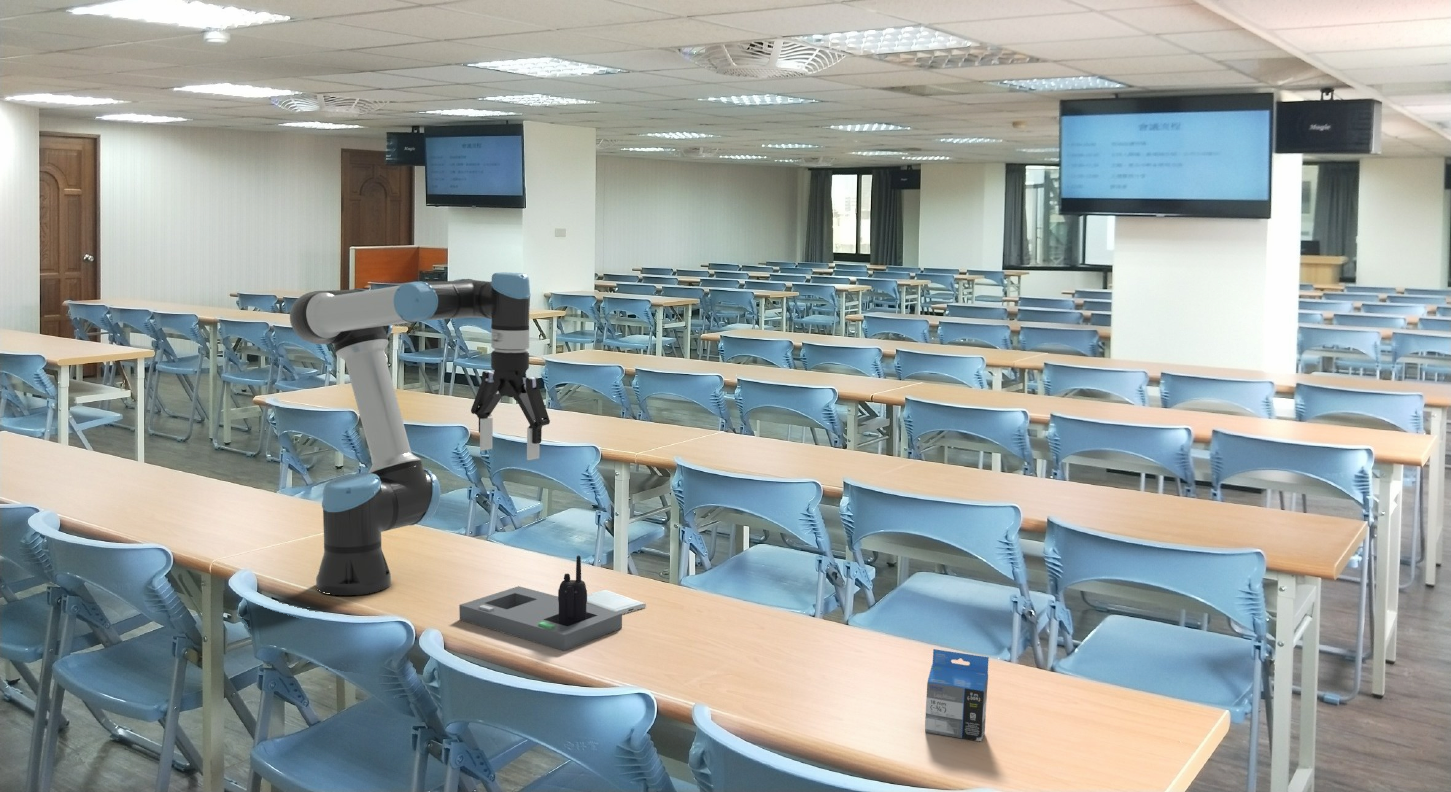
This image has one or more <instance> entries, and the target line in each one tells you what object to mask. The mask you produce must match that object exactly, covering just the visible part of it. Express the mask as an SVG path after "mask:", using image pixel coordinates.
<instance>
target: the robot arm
mask: <svg viewBox="0 0 1451 792" xmlns="http://www.w3.org/2000/svg"><path fill="white" fill-rule="evenodd" d="M491 275H492V276H491V281H489V280H488V281H485V280H476V279H472V278H459V279H454V280H447V281H446V280H443V281H421V280H419V281H410V282H405V283H402V284H400V285H395V286H390V287H389V286H388V287H383V288H377V289H364V288H363V289H362V288H353V289H338V290H337V289H336V290H333V289H332V290H313V291H310V292H307V293H305V294H302V295H301V296H299V297H298V298H297V299H296V300H295V301H294V303H293V304H292V306H291V309H290V312H289V320H290V325H291V328H292V329H293V330H292V331H294V333H295V335H297V336H298V337H299V338H300V339H302V340H303V341H305V342H307V343H310V344H314V345H330V344H331V345H333V349H334V352H335V355H336V356H337V357H339V358H340V359H342V360H343V361H344V362H345V366H346V369H347V373H348V376H349V380H350V383H351V387H352V391H353V395H354V398H355V403H356V406H357V410H358V414H359V417H360V421H361V424H362V430H363V432H364V436H365V440H366V443H367V447H368V451H369V454H370V459H371V462H372V465H371V467H370V469H369V471H367V472H357V473H355V474H354V473H353V474H352V473H350V474H343V475H340V476H338V477H335V478H333V479H330V480H329V481H328V482H327V483H326V484H325V486H324V487H323V491H322V501H321V507H322V512H323V513H322V514H323V515H322V516H323V517H322V518H323V520H322V521H323V522H322V523H323V548H324V549H323V550H324V551H323V556H322V559H321V561H320V566H319V569H318V574H316V581H315V583H316V586H315V588H316V587H317V588H316V590H317V589H318V590H320V591H321V592H325V593H330V594H332V595H331V596H335V595H356V596H362V595H364V594H365V595H369V593H370V594H374V592H375V593H377V592H378V593H379V592H380V590H381V591H383V590H386V589H387V588H389V587H390V586H391V582H392V581H391V580H392V578H391V577H392V576H391V571H390V569H389V565H388V563H387V559H386V557H385V555H384V552H383V548H382V533H383V532H388V531H391V530H395V529H399V528H403V527H407V526H414V525H418V524H419V523H422V522H426V521H427V520H429V519H431V518H432V517H433V516H434V515H435V513H436V511H437V510H438V507H439V505H440V501H441V485H440V482H439V479H438V477H437V476H436V474H433V472H432V471H431V470H430V469H427V468H424V466H423V463H422V459H421V458H420V457H418V456H416V455H415V454H414V453H412V450H411V446H410V443H409V438H408V434H407V431H406V427H405V424H404V420H403V416H402V412H401V409H400V407H399V402H398V398H397V395H396V391H395V386H394V383H393V380H392V377H391V372H390V368H389V364H388V361H387V357H386V353H385V349H386V348H387V347H388V345H389V342H390V341H389V338H388V337H389V336H390V335H391V334H392V331H393V326H394V325H399V324H400V325H401V324H406V323H407V324H408V323H419V322H426V321H427V322H428V321H437V320H450V319H451V320H452V319H467V318H480V319H489V320H490V319H491V322H490V323H491V326H490V328H491V330H490V332H491V334H490V335H491V336H490V337H491V343H490V344H491V346H490V347H491V348H492V349H493V350H492V352H490V367H491V369H492V370H485V371H482V374H481V382H480V384H479V386H478V389H477V392H476V395H475V398H474V401H473V403H472V406H471V408H470V413H471V414H472V415H476V417H477V419H478V433H479V450H480V451H487V450H493V429H494V428H493V425H494V424H493V423H494V422H493V421H494V420H493V417H492V412H493V411H494V410H495V408H496V407H497V406H498V403H500V401H501V399H502V398H503V397H508V398H513V400H514V401H516V402H517V403H518V405H519V407H520V409H521V412H523V416H525V418H526V420H527V422H528V424H529V426H528V427H527V429H526V460H527V461H533V460H539V459H540V443H542V434H543V432H542V431H543V430H542V428H543V426H548V425H550V423H551V420H550V417H549V414H548V412H547V408H546V404H545V402H544V399H543V396H542V392H541V389H540V385H539V383H540V381H539V377H537V376H532V377H527V371H528V370H529V367H530V353H529V351H528V350H529V349H530V305H531V303H530V302H531V288H530V287H531V286H530V278H529V276H528V275H527V274H526V273H521V272H494V273H493V274H491ZM318 590H317V591H318ZM321 592H320V593H321Z"/></svg>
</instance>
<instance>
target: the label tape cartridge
mask: <svg viewBox="0 0 1451 792" xmlns="http://www.w3.org/2000/svg"><path fill="white" fill-rule="evenodd" d="M932 651H933V652H932V664H931V666H930V670H929V674H928V679H927V682H926V683H927V684H926V700H925V721H924V722H925V724H924V727H925V729H924V730H925V731H924V732H925V733H926V734H927V733H928V734H934V735H940V736H946V737H951V738H952V737H953V738H957V739H964V740H969V741H974V742H979V741H981V742H982V741H983V738H984V736H985V732H986V719H987V717H986V716H987V715H986V714H987V700H988V684H989V661H990V660H989V659H990V657H988V656H983V655H975V654H967V653H962V652H957V651H956V652H955V651H948V650H944V649H943V650H942V649H937V648H936V649H935V648H933V650H932ZM959 660H962V661H963V662H966V663H967V662H968V663H969V664H968V665H967V664H961V663H955V662H952V661H959Z"/></svg>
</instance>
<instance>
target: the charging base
mask: <svg viewBox="0 0 1451 792" xmlns="http://www.w3.org/2000/svg"><path fill="white" fill-rule="evenodd" d="M459 620H460V621H462V620H463V622H466V623H469V624H472V623H473V624H472V625H476V626H479V627H482V628H483V627H484V628H487V629H490V630H493V631H497V632H499V633H503V634H507V635H509V636H514V637H517V638H520V639H523V640H525V641H526V640H527V641H530V642H534V643H537V644H539V645H540V644H541V645H543V646H547V647H551V648H553V649H557V650H561V651H562V652H563V651H564V652H565V651H567V650H571V649H573V648H575V647H578V646H581V645H583V644H586V643H588V642H591V641H594V640H596V639H599V638H601V637H604V636H606V635H608V633H609V634H611V633H613V631H614V632H616V631H619V630H621V628H623V614H622V613H619V612H615V611H611V610H608V609H604V608H600V607H596V606H592V605H588V604H586V620H584V621H581V622H579V623H576V624H573V625H570V626H564V625H561V624H559V601H558V595H554V594H550V593H546V592H542V591H539V590H535V589H532V588H528V587H527V588H526V587H523V586H519V585H518V586H514V587H512V588H509V589H505V590H501V591H499V592H496V593H493V594H489V595H486V596H484V597H480V598H477V599H474V600H471V601H468V602H465V603H461V604H459Z"/></svg>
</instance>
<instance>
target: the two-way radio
mask: <svg viewBox="0 0 1451 792" xmlns="http://www.w3.org/2000/svg"><path fill="white" fill-rule="evenodd" d="M575 562H576V563H575V565H576V566H575V579H571V576H570V574H569V573H564V576H563V580H562V581H561V583H560V585H559V587H558V591H557V596H558V601H559V624H561V625H564V626H570V625H573V624H576V623H579V622H581V621H584V620H586V603H587V595H588V590H587V585H586V582H585V581H583V580H582V560H581V555H577V556H576V561H575Z"/></svg>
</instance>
